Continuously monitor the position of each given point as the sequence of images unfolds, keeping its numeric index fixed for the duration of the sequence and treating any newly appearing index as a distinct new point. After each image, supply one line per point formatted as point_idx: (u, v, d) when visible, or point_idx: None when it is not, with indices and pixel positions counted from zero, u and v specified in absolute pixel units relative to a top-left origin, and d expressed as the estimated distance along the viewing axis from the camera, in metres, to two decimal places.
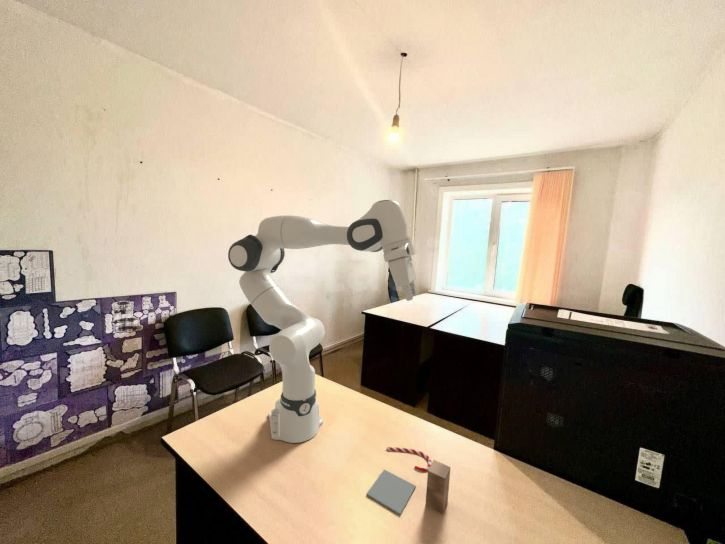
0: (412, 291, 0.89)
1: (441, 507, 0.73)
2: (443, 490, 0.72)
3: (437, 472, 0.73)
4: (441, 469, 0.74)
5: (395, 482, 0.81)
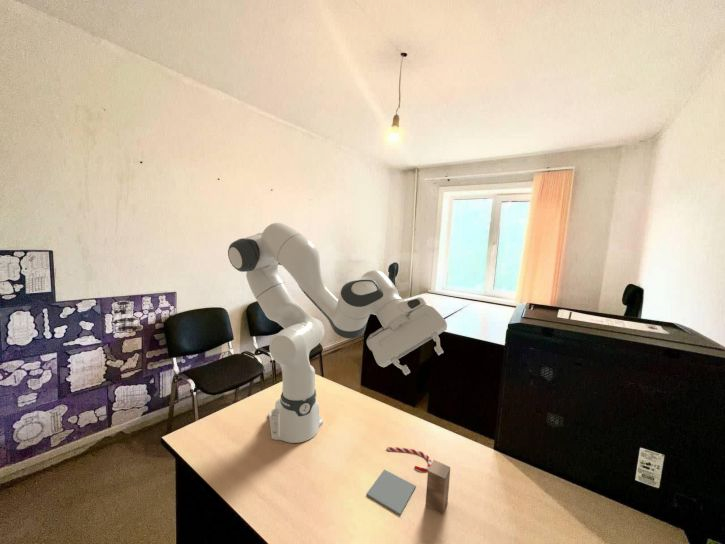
0: (407, 367, 0.70)
1: (441, 507, 0.73)
2: (443, 490, 0.72)
3: (437, 472, 0.73)
4: (441, 469, 0.74)
5: (395, 482, 0.81)
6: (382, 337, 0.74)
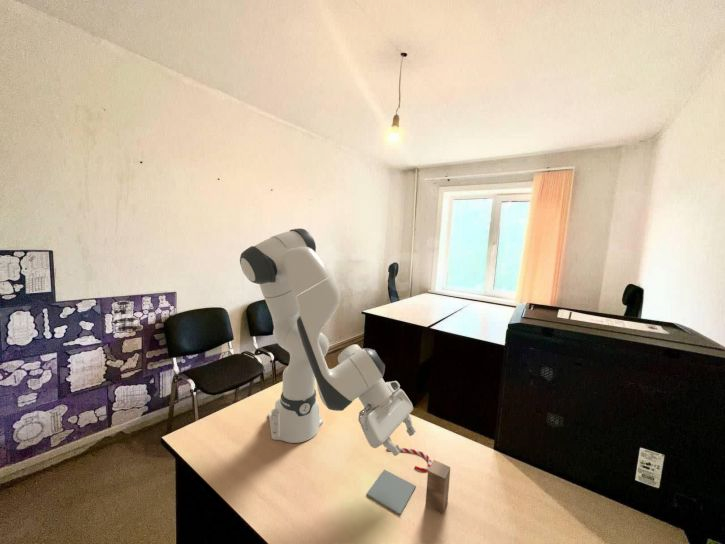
0: None
1: (441, 507, 0.73)
2: (443, 490, 0.72)
3: (437, 472, 0.73)
4: (441, 469, 0.74)
5: (395, 482, 0.81)
6: (377, 415, 0.76)
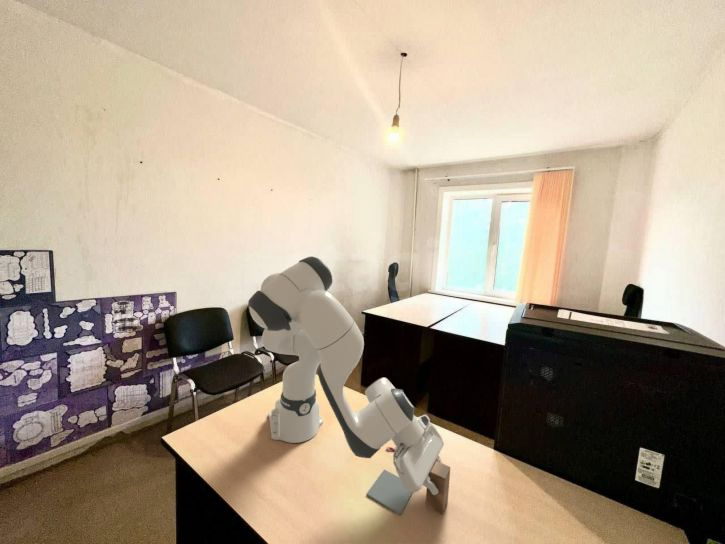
0: None
1: (441, 507, 0.73)
2: (443, 490, 0.72)
3: (437, 472, 0.73)
4: (441, 469, 0.74)
5: (395, 482, 0.81)
6: (411, 456, 0.72)
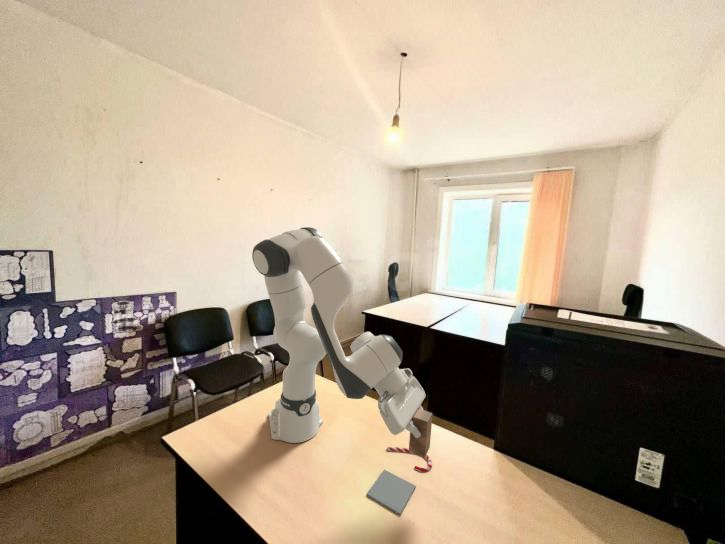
0: None
1: (424, 450, 0.75)
2: (426, 433, 0.75)
3: (420, 417, 0.76)
4: (424, 415, 0.77)
5: (395, 482, 0.81)
6: (395, 402, 0.75)
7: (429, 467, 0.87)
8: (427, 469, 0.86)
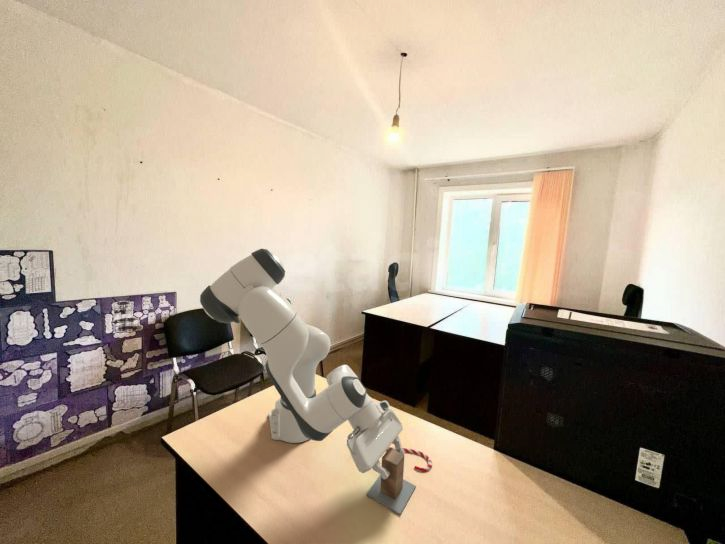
0: None
1: (394, 492, 0.76)
2: (395, 476, 0.75)
3: (391, 459, 0.77)
4: (395, 456, 0.77)
5: None
6: (365, 438, 0.75)
7: (429, 467, 0.87)
8: (427, 469, 0.86)
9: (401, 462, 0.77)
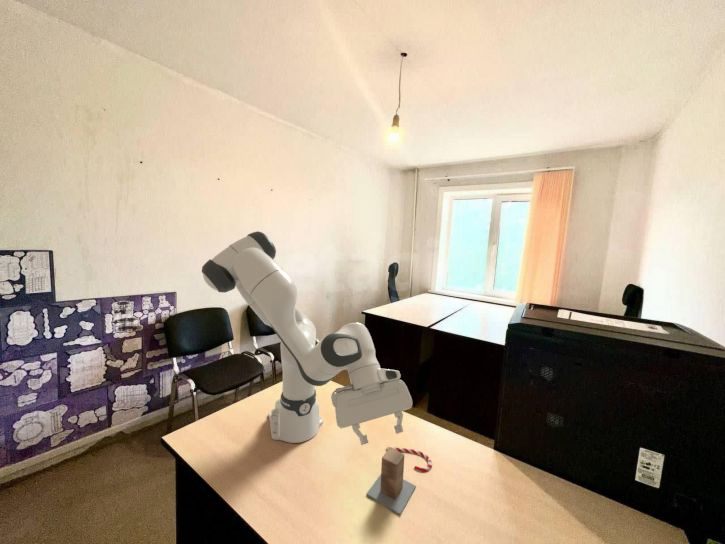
0: None
1: (394, 492, 0.76)
2: (395, 476, 0.75)
3: (391, 459, 0.77)
4: (395, 456, 0.77)
5: None
6: (351, 397, 0.72)
7: (429, 467, 0.87)
8: (427, 469, 0.86)
9: (401, 462, 0.77)
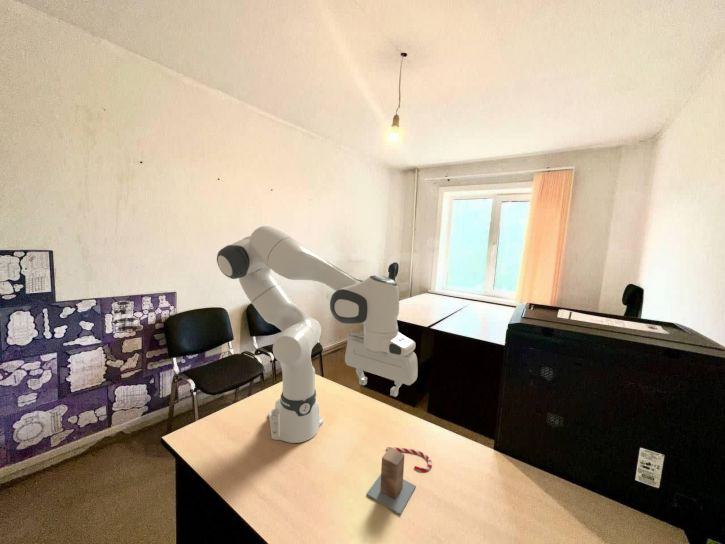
0: (365, 379, 0.78)
1: (394, 492, 0.76)
2: (395, 476, 0.75)
3: (391, 459, 0.77)
4: (395, 456, 0.77)
5: None
6: (357, 348, 0.76)
7: (429, 467, 0.87)
8: (427, 469, 0.86)
9: (401, 462, 0.77)
